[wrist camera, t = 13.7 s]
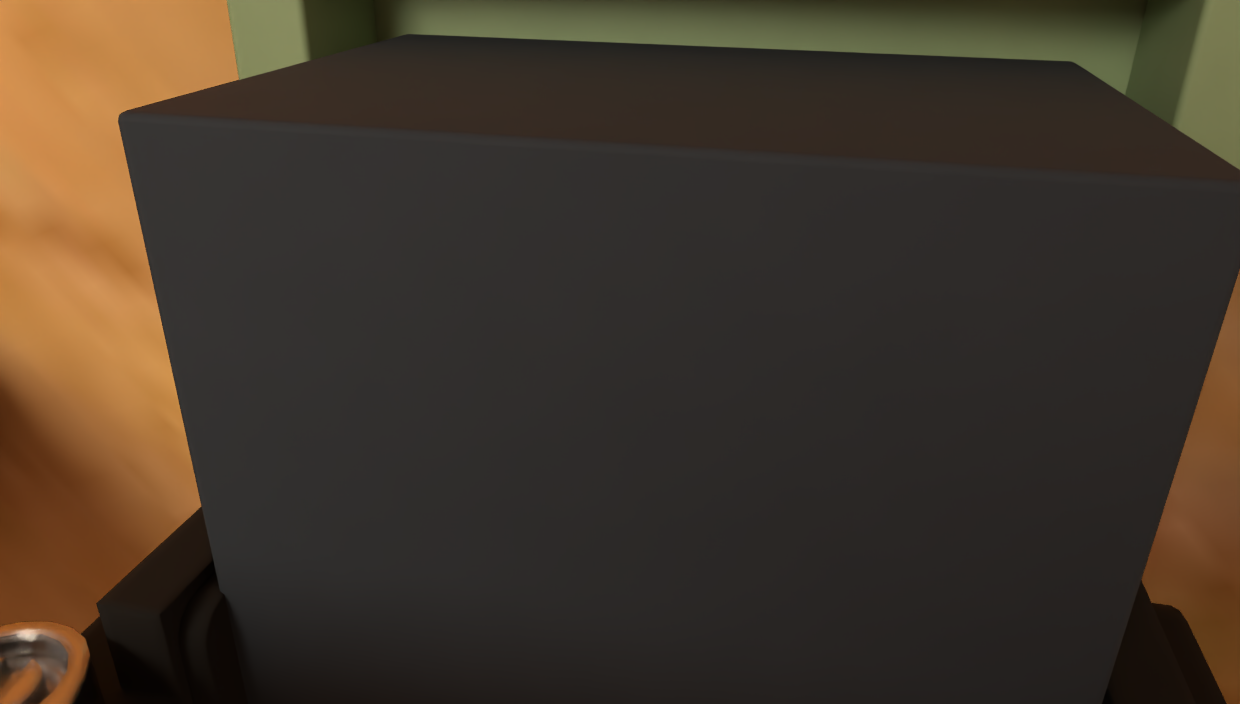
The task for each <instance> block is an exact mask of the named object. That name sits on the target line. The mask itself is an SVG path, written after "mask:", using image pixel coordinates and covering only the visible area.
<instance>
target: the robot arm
mask: <svg viewBox="0 0 1240 704" xmlns="http://www.w3.org/2000/svg"><path fill="white" fill-rule="evenodd" d="M96 604H97V607H98V611H99V614H100V617H98V618H97V619H96V620H95V621H94V622H93V623H92V624H91V625H90V626H89V627H88V628H87V629H86V630H85V631H84V632H83V633H81V634H79V633H78V632H77V631H76V630H74V629H73V628H72V627H69V626H65V625H62V624H58V623H54V622H38V621H25V622H19V623H14V624H8V625H3V626H0V704H248V702H247V697H246V693H245V688H244V683H243V679H242V674H241V669H240V665H239V660H238V656H237V651H236V646H235V642H234V637H233V632H232V628H231V623H230V618H229V614H228V609H227V604H226V600H225V595H224V594H223V593H222V592H220V589H219V584H218V579H217V575H216V570H215V566H214V561H213V556H212V552H211V547H210V542H209V538H208V533H207V529H206V524H205V519H204V515H203V510H202V507H201V508H200V509H198V510H197V511H196V512H195V513H194V514H193V515H192V516H191V517H190V518H189V519H188V520H186V521H185V522H184V523H183V524H182V525H181V526H180V527H179V528H178V529H177V530H176V531H175V532H173V533H172V534H171V535H170V536H169V537H168V538H167V539H166V540H165V541H164V542H163V543H161V544H160V545H159V546H158V547H157V548H156V549H155V550H154V551H153V552H152V553H151V554H149V555H148V556H147V557H146V558H145V559H144V560H143V561H142V562H141V563H140V564H139V565H138V566H136V567H135V568H134V569H133V570H132V571H131V572H130V573H129V574H128V575H127V576H126V577H124V578H123V579H122V580H121V581H120V582H119V583H118V584H117V585H116V586H115V587H114V588H113V589H111V590H110V591H109V592H108V593H107V594H106V595H105V596H104V597H103V598H102V599H101V600H99V601H98V602H97V603H96ZM1102 704H1227V703H1226V701H1225V699H1224V697H1223V695H1222V693H1221V691H1220V689H1219V687H1218V685H1217V683H1216V680H1215V678H1214V676H1213V674H1212V672H1211V670H1210V668H1209V666H1208V664H1207V662H1206V660H1205V658H1204V655H1203V653H1202V651H1201V649H1200V647H1199V645H1198V643H1197V641H1196V639H1195V637H1194V635H1193V633H1192V630H1191V628H1190V626H1189V624H1188V622H1187V621H1186V619H1185V618H1184V616H1183V615H1182V613H1181V612H1180V611H1179V610H1178V609H1176V608H1174V607H1172V606H1170V605H1163V604H1156V603H1151V601H1150V599H1149V596H1148V594H1147V592H1146V590H1145V587H1144V585H1143V583H1142V581H1141V582H1140V585H1139V588H1138V591H1137V595H1136V598H1135V601H1134V604H1133V607H1132V610H1131V614H1130V617H1129V620H1128V623H1127V626H1126V629H1125V632H1124V636H1123V639H1122V642H1121V645H1120V648H1119V651H1118V655H1117V658H1116V661H1115V664H1114V667H1113V670H1112V674H1111V677H1110V680H1109V683H1108V686H1107V689H1106V692H1105V696H1104V699H1103V702H1102Z"/></svg>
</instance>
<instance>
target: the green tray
mask: <svg viewBox="0 0 1240 704" xmlns="http://www.w3.org/2000/svg"><path fill="white" fill-rule="evenodd" d="M227 5H228V11H229V18H230V24H231V31H232V37H233V43H234V50H235V56H236V63H237V69H238V75H239V80H241V79H244V78H248V77H252V76H255V75H259V74H263V73H266V72H270V71H274V70H277V69H281V68H285V67H288V66H292V65H296V64H299V63H303V62H307V61H310V60H314V59H318V58H321V57H325V56H329V55H332V54H336V53H340V52H343V51H347V50H351V49H354V48H358V47H362V46H365V45H369V44H373V43H376V42H380V41H384V40H387V39H391V38H395V37H398V36H402V35H406V34H422V35H446V36H470V37H495V38H519V39H543V40H567V41H591V42H616V43H640V44H664V45H688V46H712V47H736V48H761V49H785V50H809V51H833V52H857V53H882V54H906V55H930V56H954V57H978V58H1002V59H1027V60H1051V61H1072V62H1074V63H1076V64H1078V65H1079V66H1081V67H1082V68H1084V69H1086V70H1087V71H1089V72H1090V73H1092V74H1093V75H1095V76H1096V77H1098V78H1099V79H1101V80H1102V81H1104V82H1106V83H1107V84H1109V85H1110V86H1112V87H1113V88H1115V89H1116V90H1118V91H1119V92H1121V93H1122V94H1124V95H1126V96H1127V97H1129V98H1130V99H1132V100H1133V101H1135V102H1136V103H1138V104H1139V105H1141V106H1142V107H1144V108H1145V109H1147V110H1149V111H1150V112H1152V113H1153V114H1155V115H1156V116H1158V117H1159V118H1161V119H1162V120H1164V121H1165V122H1167V123H1169V124H1170V125H1172V126H1173V127H1175V128H1176V129H1178V130H1179V131H1181V132H1182V133H1184V134H1185V135H1187V136H1189V137H1190V138H1192V139H1193V140H1195V141H1196V142H1198V143H1199V144H1201V145H1202V146H1204V147H1205V148H1207V149H1209V150H1210V151H1212V152H1213V153H1215V154H1216V155H1218V156H1219V157H1221V158H1222V159H1224V160H1225V161H1227V162H1229V163H1230V164H1232V165H1233V166H1235V167H1236V168H1238V169H1239V170H1240V0H227Z"/></svg>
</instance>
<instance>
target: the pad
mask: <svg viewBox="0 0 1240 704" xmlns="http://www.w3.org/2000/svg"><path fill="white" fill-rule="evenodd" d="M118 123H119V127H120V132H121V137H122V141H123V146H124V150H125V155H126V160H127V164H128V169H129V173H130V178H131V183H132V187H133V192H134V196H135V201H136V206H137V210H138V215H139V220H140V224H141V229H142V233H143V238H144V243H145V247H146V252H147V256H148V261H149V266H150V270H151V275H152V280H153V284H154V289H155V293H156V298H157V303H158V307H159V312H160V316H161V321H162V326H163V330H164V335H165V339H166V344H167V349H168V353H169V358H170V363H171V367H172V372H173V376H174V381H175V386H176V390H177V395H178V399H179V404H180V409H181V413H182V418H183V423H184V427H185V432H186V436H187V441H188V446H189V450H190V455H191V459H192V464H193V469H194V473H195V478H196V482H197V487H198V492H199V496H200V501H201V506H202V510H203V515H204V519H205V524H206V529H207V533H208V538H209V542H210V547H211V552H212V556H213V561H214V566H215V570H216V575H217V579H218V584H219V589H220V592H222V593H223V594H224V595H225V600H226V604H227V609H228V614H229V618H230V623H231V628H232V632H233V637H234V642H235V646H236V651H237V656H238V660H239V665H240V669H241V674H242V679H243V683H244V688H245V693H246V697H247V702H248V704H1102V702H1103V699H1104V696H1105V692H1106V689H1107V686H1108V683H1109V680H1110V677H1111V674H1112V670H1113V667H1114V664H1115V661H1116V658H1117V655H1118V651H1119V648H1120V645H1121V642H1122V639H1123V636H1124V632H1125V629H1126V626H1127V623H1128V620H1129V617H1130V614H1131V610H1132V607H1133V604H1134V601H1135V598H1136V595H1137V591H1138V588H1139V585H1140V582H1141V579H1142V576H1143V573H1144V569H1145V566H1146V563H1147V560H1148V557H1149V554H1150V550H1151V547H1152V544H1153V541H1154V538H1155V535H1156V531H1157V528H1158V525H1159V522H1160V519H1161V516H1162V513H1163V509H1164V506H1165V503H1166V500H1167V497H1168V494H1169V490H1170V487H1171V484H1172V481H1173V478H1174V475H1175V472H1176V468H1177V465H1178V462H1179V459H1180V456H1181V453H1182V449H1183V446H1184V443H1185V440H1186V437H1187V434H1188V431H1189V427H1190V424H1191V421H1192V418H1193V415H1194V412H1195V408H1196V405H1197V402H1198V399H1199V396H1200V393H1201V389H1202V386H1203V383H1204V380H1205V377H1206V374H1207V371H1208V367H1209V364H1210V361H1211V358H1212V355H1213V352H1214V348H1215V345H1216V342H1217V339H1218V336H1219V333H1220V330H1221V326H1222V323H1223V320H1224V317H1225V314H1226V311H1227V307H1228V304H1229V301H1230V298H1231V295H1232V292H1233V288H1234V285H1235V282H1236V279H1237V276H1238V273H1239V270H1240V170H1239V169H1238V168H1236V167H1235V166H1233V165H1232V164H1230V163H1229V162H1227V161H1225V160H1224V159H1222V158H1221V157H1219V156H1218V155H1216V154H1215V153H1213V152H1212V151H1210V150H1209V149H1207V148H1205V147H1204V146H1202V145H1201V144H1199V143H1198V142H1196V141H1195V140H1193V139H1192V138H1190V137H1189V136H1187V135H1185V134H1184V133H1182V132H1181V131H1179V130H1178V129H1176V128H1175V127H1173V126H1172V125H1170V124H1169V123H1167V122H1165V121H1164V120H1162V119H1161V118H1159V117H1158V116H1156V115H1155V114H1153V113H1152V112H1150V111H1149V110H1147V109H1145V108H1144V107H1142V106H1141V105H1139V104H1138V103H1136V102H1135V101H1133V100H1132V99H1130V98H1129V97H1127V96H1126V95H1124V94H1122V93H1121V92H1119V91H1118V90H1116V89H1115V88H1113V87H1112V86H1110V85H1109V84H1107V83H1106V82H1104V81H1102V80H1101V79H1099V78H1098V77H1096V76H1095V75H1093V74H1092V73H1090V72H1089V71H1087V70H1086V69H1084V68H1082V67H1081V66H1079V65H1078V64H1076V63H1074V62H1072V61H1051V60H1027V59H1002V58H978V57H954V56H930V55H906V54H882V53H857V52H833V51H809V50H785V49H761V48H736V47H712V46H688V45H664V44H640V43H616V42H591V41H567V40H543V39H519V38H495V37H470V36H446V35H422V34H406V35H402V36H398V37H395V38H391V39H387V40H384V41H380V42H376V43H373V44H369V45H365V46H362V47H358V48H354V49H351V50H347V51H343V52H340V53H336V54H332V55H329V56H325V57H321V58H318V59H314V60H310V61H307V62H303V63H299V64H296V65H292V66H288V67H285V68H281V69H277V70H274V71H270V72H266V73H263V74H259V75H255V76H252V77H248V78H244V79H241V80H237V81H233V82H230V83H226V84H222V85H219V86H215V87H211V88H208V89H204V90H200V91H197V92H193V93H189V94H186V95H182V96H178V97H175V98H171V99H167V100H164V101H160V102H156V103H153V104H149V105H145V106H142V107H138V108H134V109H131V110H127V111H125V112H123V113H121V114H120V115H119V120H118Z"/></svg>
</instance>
